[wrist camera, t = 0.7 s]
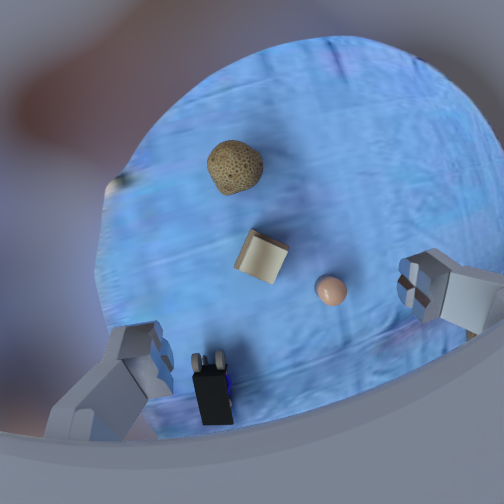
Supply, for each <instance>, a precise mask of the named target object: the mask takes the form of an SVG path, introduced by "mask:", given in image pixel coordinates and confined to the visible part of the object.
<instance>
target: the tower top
mask: <svg viewBox="0 0 504 504" xmlns="http://www.w3.org/2000/svg"><path fill="white" fill-rule="evenodd" d="M287 252H288V251H286V250H284V249H283V248H280V247H278V246H276V245H274V244H272V243H269V242H267V241H265V240H263V239H260V238H258V237H256V236H253V238H252V240H251V242H250V244H249V247H248V249H247V251H246V253H245V256H244V258H243V260H242V262H241V264H240V268H239V270H240V271H243V272H245V273H247V274H249V275H252V276H254V277H256V278H258V279H261V280H263V281H265V282H268V283H270V284H272V285H273V283H274V281H275V278H276V276H277V274H278V272H279V270H280V268H281V266H282V263H283V261H284V259H285V257H286V255H287Z"/></svg>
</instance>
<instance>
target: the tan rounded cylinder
mask: <svg viewBox="0 0 504 504" xmlns="http://www.w3.org/2000/svg"><path fill="white" fill-rule="evenodd" d="M315 293H316V294H317V296H318V297H319V298H320V299H321V300H322V301H323V302H324V303H326V304H327V305H330V306H336V305H339V304H340V303H342V302H343V301H344V299H345V297H346V294H347V288H346V286H345V284H344V283H343V282H342V281H341V280H339V279H337V278H335V277H334V276H332V275H323V276H321V277H319V278H318V279H317V281H316V283H315Z"/></svg>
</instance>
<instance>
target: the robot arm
mask: <svg viewBox="0 0 504 504" xmlns="http://www.w3.org/2000/svg"><path fill="white" fill-rule="evenodd" d="M399 272H400V273H401V276H400V278H399V279H398V281H397V292H398V297H399V298H400V300H401V302H402V303H403V304H404V305H405V306H407V307H410V308H412V314H413V315H414V316H415V317H416V318H417V319H418V320H419V321H420V322H421V323H422V324H423V323H426V322H428V321H431V320H433V319H435V318H438V317H440V316H441V317H440V318H443V319H445V320H447V321H449V322H451V323H453V324H456V325H458V326H460V327H462V328H464V329H466V330H469V331H471V332H473V333H475V334H477V336H475V337H474V338H472V339H471V340H469V341H467V342H466V343H464V344H462V345H460V346H459V347H457V348H455V349H453V350H452V351H450V352H448V353H446V354H444V355H442V356H441V357H439V358H437V359H435V360H433V361H431V362H429V363H427V364H425V365H423V366H421V367H419V368H417V369H415V370H413V371H411V372H409V373H407V374H404V375H402V376H400V377H398V378H396V379H393V380H391V381H389V382H386V383H384V384H382V385H379V386H377V387H374V388H372V389H369V390H367V391H364V392H362V393H359V394H356V395H354V396H351V397H348V398H346V399H343V400H340V401H337V402H334V403H331V404H328V405H325V406H322V407H319V408H316V409H312V410H309V411H306V412H302V413H299V414H295V415H292V416H288V417H284V418H280V419H276V420H272V421H268V422H264V423H260V424H255V425H251V426H246V427H241V428H236V429H230V430H225V431H219V432H213V433H207V434H200V435H192V436H184V437H175V438H165V439H154V440H137V441H123V439H124V437H125V436H126V434H127V433H128V431H129V430H130V428H131V427H132V425H133V423H134V422H135V420H136V419H137V417H138V416H139V414H140V413H141V411H142V409H143V408H144V406H145V405H146V403H147V402H148V399H152V398H159V397H165V396H171V395H173V377H172V375H171V374H170V373H171V371H172V370H173V369H174V359H173V353H172V350H171V347H170V345H169V342H168V341H167V340H166V339H164V338H163V337H162V336H163V329H162V327H161V325H160V323H159V322H158V321H157V320H155V321H149V322H143V323H137V324H131V325H125V326H120V327H115V328H113V329H112V331H111V334H110V337H109V340H108V343H107V347H106V350H105V353H104V357H103V360H102V362H99V363H97V364H96V365H95V366H94V367H93V368H92V369H91V370H90V371H89V372H88V373H87V374H86V375H85V376H84V377H83V378H82V379H81V380H80V381H79V382H78V383H77V384H76V385H75V386H74V387H73V388H71V389H70V391H69V392H67V393H66V394H65V395H64V396H63V398H61V399H60V401H58V402H57V403H56V404H55V405H54V406H53V407H52V410H51V413H50V416H49V420H48V423H47V426H46V430H45V433H44V437H43V438H39V437H31V436H24V435H17V434H11V433H6V432H1V431H0V504H504V275H501V274H497V273H493V272H489V271H485V270H481V269H477V268H473V267H469V266H464V267H462V266H461V265H460V264H458V263H457V262H455V261H454V260H453V259H451V258H450V257H448V256H447V255H445V254H444V253H442V252H441V251H439V250H438V249H436V248H432V249H429V250H426V251H424V252H422V253H419V254H416V255H413V256H410V257H407V258H403V259H401V261H400V263H399Z"/></svg>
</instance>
